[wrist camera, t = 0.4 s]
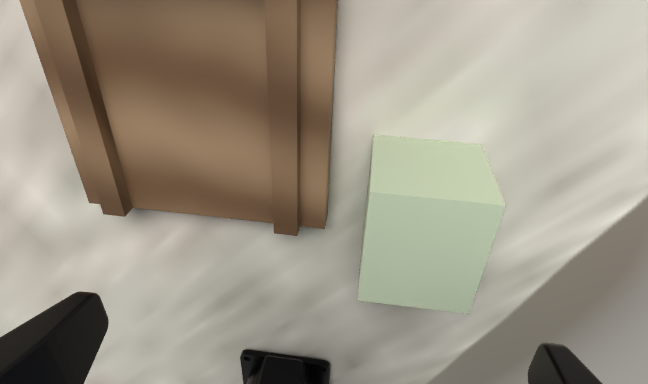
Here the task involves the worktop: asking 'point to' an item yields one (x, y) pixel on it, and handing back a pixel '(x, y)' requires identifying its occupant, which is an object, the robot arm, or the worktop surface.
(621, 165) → the worktop surface
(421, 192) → the block
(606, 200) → the worktop surface
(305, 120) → the channel board
